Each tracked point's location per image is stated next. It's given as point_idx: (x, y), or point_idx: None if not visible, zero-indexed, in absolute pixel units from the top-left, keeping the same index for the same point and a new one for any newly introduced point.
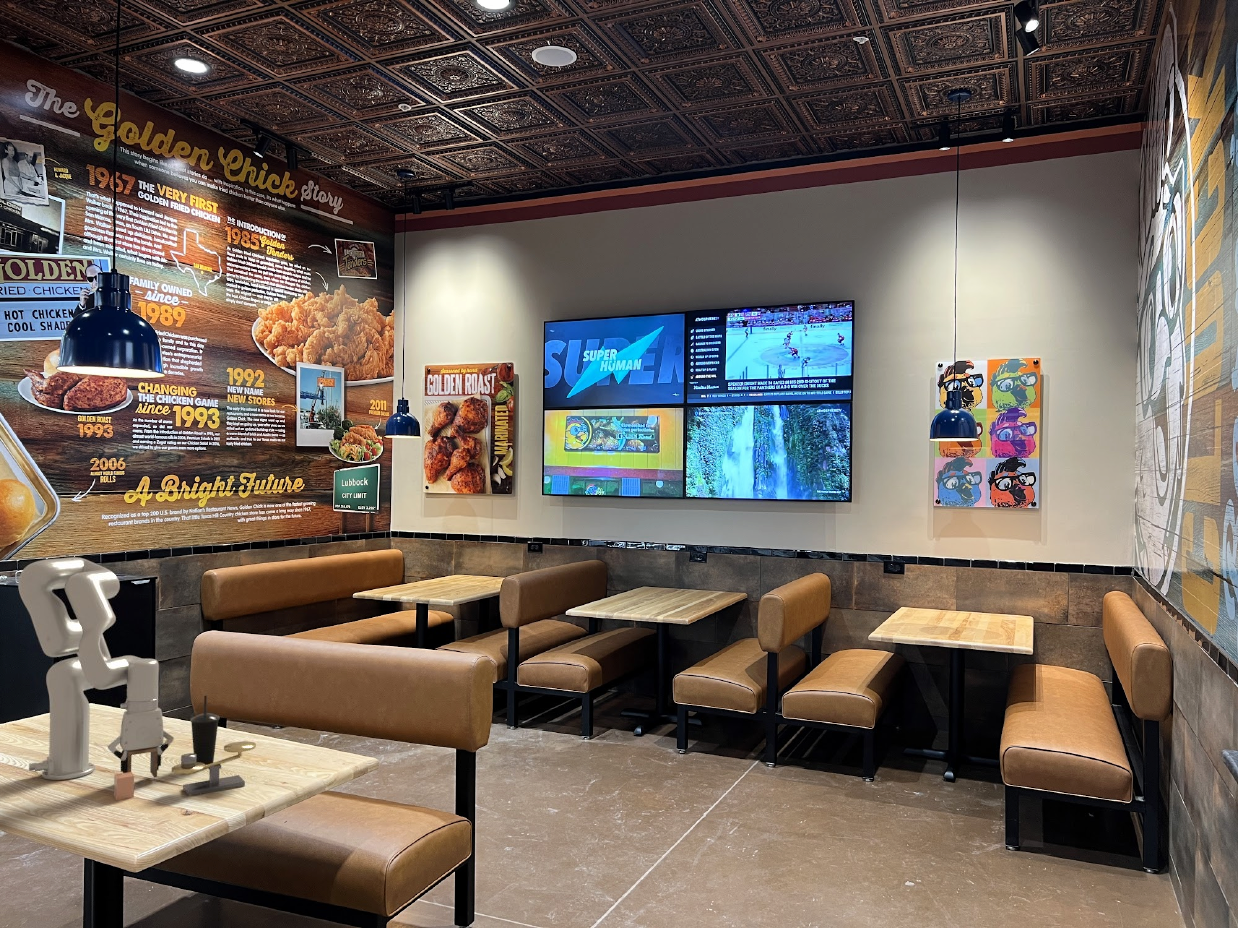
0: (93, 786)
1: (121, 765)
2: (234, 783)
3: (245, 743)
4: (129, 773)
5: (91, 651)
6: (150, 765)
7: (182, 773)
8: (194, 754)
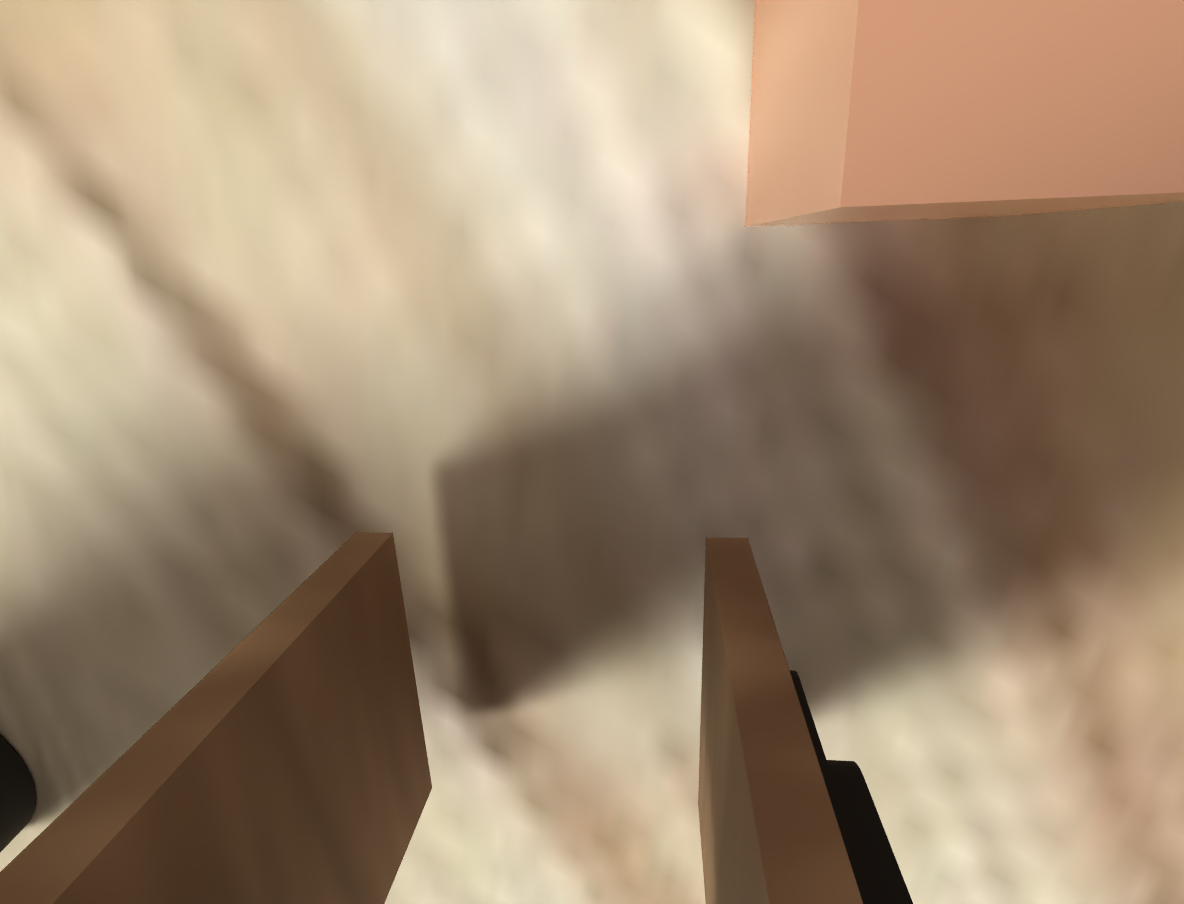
0: (1076, 757)
1: (892, 870)
2: None
3: None
4: (944, 43)
5: None
6: (399, 857)
7: None
8: None
